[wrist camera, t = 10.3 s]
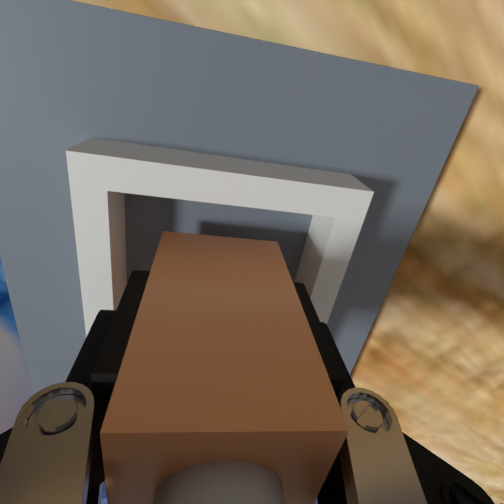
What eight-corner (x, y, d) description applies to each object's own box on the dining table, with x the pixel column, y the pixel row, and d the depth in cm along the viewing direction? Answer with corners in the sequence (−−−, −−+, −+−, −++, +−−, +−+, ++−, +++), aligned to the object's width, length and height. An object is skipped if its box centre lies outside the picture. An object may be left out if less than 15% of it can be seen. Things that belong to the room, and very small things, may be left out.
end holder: (459, 84, 12) (529, 88, 9) (334, 381, 19) (353, 430, 17) (-42, -20, 9) (-147, -57, 6) (42, 375, 16) (10, 432, 14)
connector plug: (277, 241, 12) (374, 498, 5) (259, 326, 13) (308, 599, 6) (163, 231, 11) (74, 512, 4) (160, 321, 13) (98, 620, 6)
